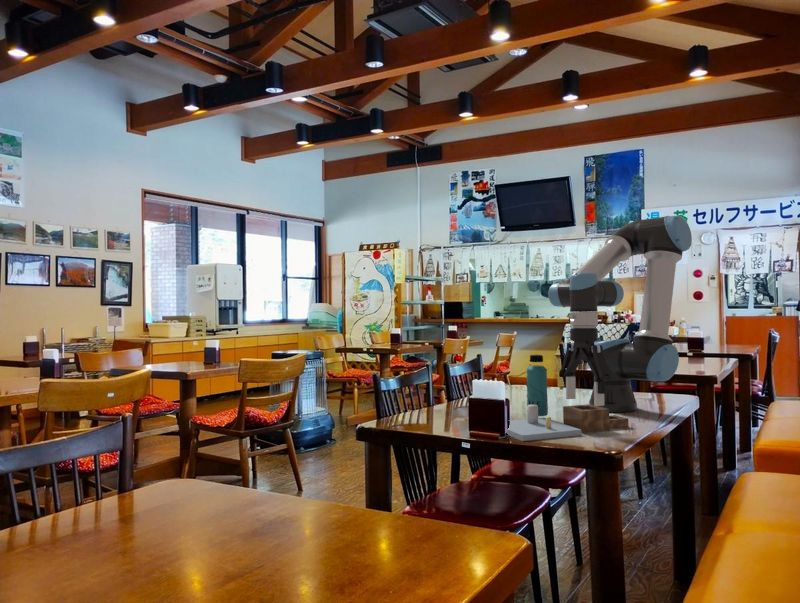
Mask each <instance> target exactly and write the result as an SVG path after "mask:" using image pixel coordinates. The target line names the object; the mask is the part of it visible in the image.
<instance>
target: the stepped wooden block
mask: <svg viewBox="0 0 800 603" xmlns="http://www.w3.org/2000/svg"><path fill="white" fill-rule="evenodd" d="M562 410H563V411H562V414H563V418H562V420H563V423H562V424H565V425H568V426H571V427H575V428H578V429H581V434H588V433H597V432H599V433H601V432H607V431H608V432H609V431H611V430H614V429H625V428H627V429H628V428H629V427H630V425H629V418H627V417H623V416H620V415H616V414H611V415H610V412H609V409H607V408H603V407H599V406H594V405H591V404H589V403H588V404H578V405H577V404H576V405H565V406H562Z"/></svg>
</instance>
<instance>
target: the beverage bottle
mask: <svg viewBox="0 0 800 603" xmlns="http://www.w3.org/2000/svg"><path fill="white" fill-rule="evenodd" d="M529 362H530V363H543V362H544V357H543V355H542V354H532V355H529ZM526 399H527V400H526V406H527V405H538V417H545V416H546V417H547V416H548V414H549V406H548V405H549V402H548V401H549V400H548V399H549V398H548V369H547V368H546V367H545V366H544V365H540V364H539V365H537V364H536V365H534V364H533V365H529V366H528V367H527V368H526Z"/></svg>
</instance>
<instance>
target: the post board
mask: <svg viewBox="0 0 800 603" xmlns="http://www.w3.org/2000/svg"><path fill="white" fill-rule="evenodd" d="M526 408H527V410H526V412H527V413H526V414H527V418H526V419H515V420H509V421H510V425H509V428H508V429H507V434H508V435H507V436H509V437H511V438H513V439H516V440H519V441H521V442H526V441H537V440H547V439H555V438H565V437H568V438H569V437H578V436H582V433H581V429H578V428H575V427H571V426H568V425H565V424H563V423H562V422H559V421H556V420H554V419H553V420H552V417H551V416H546V417H539V416H538V405H527V404H526Z"/></svg>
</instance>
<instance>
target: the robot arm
mask: <svg viewBox="0 0 800 603" xmlns="http://www.w3.org/2000/svg"><path fill="white" fill-rule="evenodd" d="M692 243H693V236H692V231H691V228H690V226H689V223H688V222H687V220H686V219H685V218H684V217H682V216H680V215H666V216H660V217H652V218H646V219H636V220H634V221H631V222H629V223H627V224H626V225H623V226H622V227H620V228H619V229H617V230H616V231H615V232H613V233H612V234H611V235H610V236H609V237H607V239H605V241H604V245H603V246H602V247H601V248H600V249H599V250H598V251H596V253H595V254H594V255H592V256H591V258H589V259H587V261H586V262H585V263H584V264H582V265H581V266H580V267H579V268H578V269H577V270H576V271H575V272H574V273H572V274H570V277H568V278H567V279H565V281H563V282H561V281H560V282H557V283H556V282H555V283H553V284H552V285H551V286H549V289H548V293H547V295H548V300H549V302H550V304H551V305H552V306H554V307H562V308H570V309H569V314H570V315H569V316H570V317H569V318H570V319H569V320H570V322H569V325H570V326H571V328H570V329H569V332H570V333H569V334H570V335H569V336H570V337H569V340H570V341H572V342H567V343H566V351H565V353H564V354H565V355H564V359H563V362H562V365H561V368H560V373H561V374H563V376H564V377H565V399H566V400H576V399H577V397H576V388H577V386H576V374H575V373H576V371H577V369H578V367H579V365H580V363H581V361H585V362H586V363H587V364H588V366H589V369H590V371H591V373H592V375H593V388H592V391H591V395H590V397H589V398H590V399H589V401H588V404H591V405H594V406H599V407H603V408H607V409H609V413H628V412H635V411H637V410H638V402H637V400H636V397H635V395H634V390H633V388H632V385H631V384H632V383H631V381H632V380H639V381H649V382H652V383H653V382H654V383H655V382H667V381H669V380H670V379H671V378H672V377H673V376H674V375H675V373H676V372H677V369H678V367H679V364H680V362H679V361H680V360H679V359H680V356H679V351H678V348H677V347H676V346H675V345H674V344H673V342H674V341H673V339H672V338H671V337H670V335H669V332H670V331H669V330H670V319H671V313H672V312H671V311H672V304H673V294H674V285H675V284H674V283H675V276H676V268H677V267H676V266H677V263H678V262H679V261H681V260H682V258H683V252H687V251H688V250H689V249H690V248H691V246H692ZM638 255H643V258H644V259H645V260H646V261H647V263H646V264H647V265H646V272H645V279H644V280H645V281H644V282H645V283H644V288H643V289H644V290H643V297H642V306H641V313H640V315H641V316H640V323H639V329H638V330H639V331H638V332H637V333H636V334H634V335H633V339H632V342H631V340H630V338H619V339H610V340H602V341H601V340H600V341H598V339H599V336H598V334H599V332H598V331H599V330H598V328H597V327H598V325H599V319H598V317H599V316H598V314H599V313H598V307H606V308H607V307H609V308H611V307H616V306H618V305H620V304H621V302H622V301H623V299H624V296H625V292H624V289H623V286H622V285H621V284H620V283H619V282H617V281H612V280H603V279H604V278H605V277H606V276H608V274H610V272H611V271H612V270H614V268H616V267H617V266H618V265H619V264H620V263H621V262H625V261H627V260H628V259H630V258H631V257H633V256H638Z"/></svg>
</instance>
